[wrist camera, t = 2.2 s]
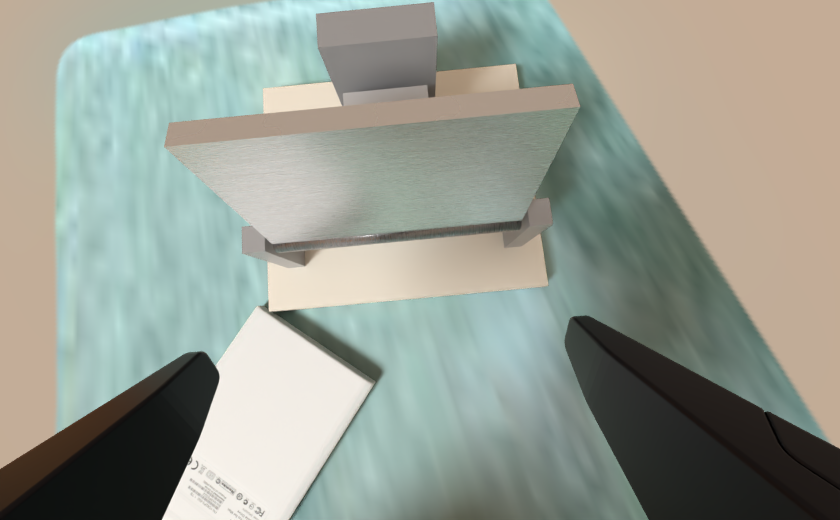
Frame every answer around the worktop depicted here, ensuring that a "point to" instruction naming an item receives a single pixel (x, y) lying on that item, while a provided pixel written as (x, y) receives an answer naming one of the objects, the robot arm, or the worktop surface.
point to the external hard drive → (268, 424)
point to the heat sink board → (409, 260)
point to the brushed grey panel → (382, 166)
